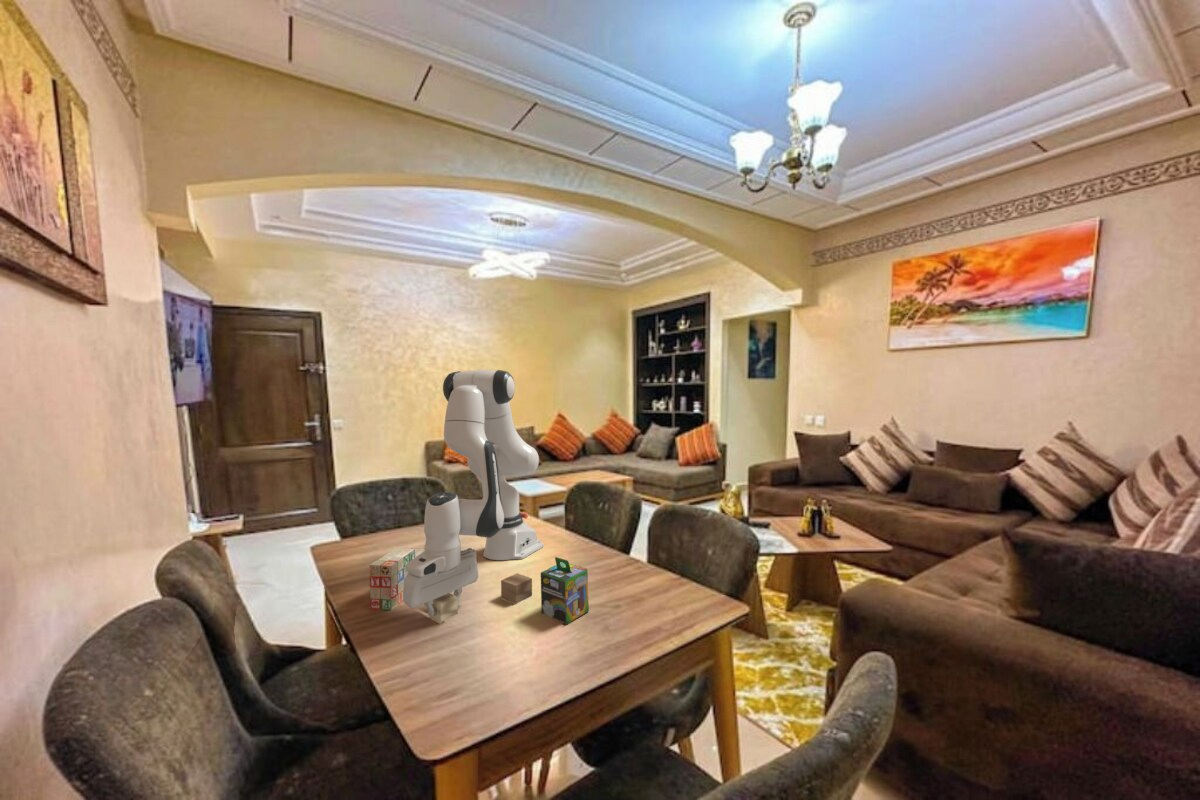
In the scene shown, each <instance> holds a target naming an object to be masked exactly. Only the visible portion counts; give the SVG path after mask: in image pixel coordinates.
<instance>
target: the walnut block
mask: <svg viewBox="0 0 1200 800" xmlns="http://www.w3.org/2000/svg"><path fill="white" fill-rule="evenodd" d="M500 593H501V595H500V599H501V598H502V599H501V600H503V599H505V600H504V601H506V600H507V601H506V602H508V601H510V602H509V603H511V602H512V603H511V604H513V603H515V604H514V605H516V604H517V603H519V602H521V601H522V602H524V601H526V600H528V599H530V598H532V597H533V578H532V577H529V576H526V575H524V574H520V573H518V572H517V573H514V574H512V575H510V576H508V577H506V578H503V579H501V580H500ZM531 596H532V597H531ZM529 597H530V598H529ZM527 598H528V599H527ZM525 599H526V600H525ZM523 600H524V601H523ZM522 602H521V603H522ZM519 604H520V603H519ZM517 605H518V604H517Z"/></svg>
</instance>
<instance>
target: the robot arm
mask: <svg viewBox="0 0 1200 800" xmlns="http://www.w3.org/2000/svg"><path fill="white" fill-rule="evenodd" d="M515 388H516V387H515V380H514V377H513V376H512V374H511V373H510V372H509V371H506V370H502V369H501V370H500V369H498V370H493V369H477V370H465V371H464V370H463V371H459V370H458V371H454V372H450V373H448V374H447V375H446V377H445V378H444V380H443V384H442V392H443V396H444V398H445V400H446V401H447V405H446V411H445V416H444V426H443V440H444V441H445V444H446V446H447V447H448V448H449V449H450V450H451V451H453V452H454V453H456V454H458V455H460V456H462V457H465V458H466V459H467V461H466V462H467V466H468V469H469V470H470V471H471V472H472V473H473V474H474V475H475V476H476V477H478V479H479V480H480V481H481V489H482V498H481V499H465V498H459V497H458V495H457V494H456V493H454V492H452V491H443V492H438V493H435V494H433V495H431V496H430V497H429V498H427V501H426V503H425V510H424V521H423V527H424V528H423V530H424V535H425V543H424V548H425V551H423V552H422V553H421V554H420V555H418V556H417V557H416V558H414V559H413V560H411V561H410V562H408V563H407V564H406V571H407V572H409V573H408V574H407V576H406V577H405V580H404V588H403V601H402V602H403V603H404V604H405V605H406V606H408V607H410V608H412V609H414V608H417V607H420V606H422V605H424V606H425V607H426V609H427V616H430V617H433V616H435V615H437V608H434V607H432V605H431V604H433V600H434V599H436V598H439V597H441V596H443V595H446V594H448V593H450V594H451V593H452V592H453V594H452V595H454V596H457V597H458V600H459V599H460V597H461V594H462V592H463V588H465V587H466V586H469V585H471V584H474V583H476V582H477V581H478V579H479V566H478V561H477V552H476V550H475V548H472V547H468V548H466V549H464V550H462V549H461V548H462V546H461V545H462V543H461V539H460V536H473V537H475V536H476V537H479V538H480V537H481V538H486V539H485V546H484V550H483V553H482V555H483V557H484V558H485V559H488V560H493V561H507V560H508V561H509V560H523V559H525V558H526V557H529V555H531V554H533V553H535V552H537V551H538V550H540V549H541V548H544V543H543V542H542V541H541V540H539V539H538V535H537V531H536V530H535V528H533V527H532V526H531V525H529V524H527V523H526V522H525V521H524V519H528V517H529V514H528V512H522V513H521V512H520V493H519V491H518V489H517V488H516V487H515V486H513V485H511V484H509V483H508V482H507V480H506V478H505V476H506V477H507V476H508V477H523V476H529V475H533V474H534V473H535V472H536V471H537V469H538V467H539V463H540V457H539V454H538V451H537V450H536V449H535V448H534V447H533V446H531V445H529V444H528V443H527V442H525V440H524V439H522V437H521V436H520V434H519V433H518V431H517V429H516V427H515V422H514V419H513V414H512V413H513V412H512V408H511V403H510V401H511V400H512V399H513V398H514V395H515Z"/></svg>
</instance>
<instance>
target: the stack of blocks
mask: <svg viewBox="0 0 1200 800" xmlns="http://www.w3.org/2000/svg"><path fill="white" fill-rule="evenodd" d="M423 551H425V547H424V548H420V547H417V548H416V547H411V548H394V549H393V550H391V551H389V552H388V553H387V554H384V555H383V556H381V557H380V558H379V559H377V560H375V561H373V562H372V563H370V564H369V587H370V588H369V592H370V594H369V595H370V598H369V604H370V606H369V607H370V609H371V610H382V611H383V610H386V611H393V609H395V608H396V607H397V606H399V605H400V604H401V603H402V602H404V601H403V588H404V580H405V577H406V576H407V574H408V573H409V572H407V571H406V564H407V563H408V562H410V561H411V560H413V559H414V558H416V557H417V556H418V555H420V554H421V553H422V552H423Z"/></svg>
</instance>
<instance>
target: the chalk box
mask: <svg viewBox="0 0 1200 800" xmlns="http://www.w3.org/2000/svg"><path fill="white" fill-rule="evenodd" d="M554 559H555V563H556V564H555V565H553V566H550V567H549V568H548V569H545V570H542V571H541V572H540V600H541V602H540V604H541V606H540V607H541V613H542V614H544V615H546V616H548V617H550V618H553V619H555V620H558V621H559V622H562V623H563V625H564V626H568V624H569V623H570V624H571V623H572V622H573V621H575V620H576V619H578V618H580V617H581V616H583V615H584V614H586V613H587V612H589V611H590V607H589V579H588V577H589V572H588V568H587V567H586V568H585V567H582V566H581V565H576V564H572V563H570V562H569V560H568V559H563V558H561V557H557V556H555V557H554Z"/></svg>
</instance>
